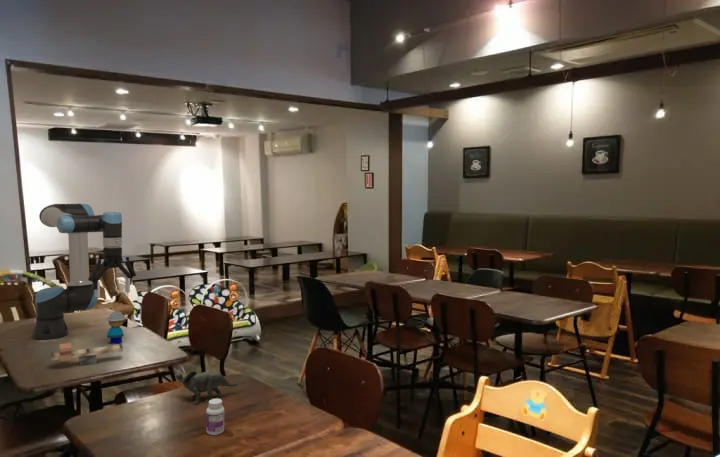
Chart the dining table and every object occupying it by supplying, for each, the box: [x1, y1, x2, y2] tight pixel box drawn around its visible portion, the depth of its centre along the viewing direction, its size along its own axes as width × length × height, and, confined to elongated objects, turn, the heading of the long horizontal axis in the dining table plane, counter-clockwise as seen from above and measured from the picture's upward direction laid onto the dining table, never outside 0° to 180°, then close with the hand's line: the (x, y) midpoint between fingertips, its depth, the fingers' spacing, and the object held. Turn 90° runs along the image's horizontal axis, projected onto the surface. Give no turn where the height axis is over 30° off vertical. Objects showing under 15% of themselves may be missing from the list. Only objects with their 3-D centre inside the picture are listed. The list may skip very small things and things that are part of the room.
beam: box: [50, 343, 124, 367], centre depth 213 cm, size 26×5×6 cm, turn 122°
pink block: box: [59, 342, 73, 362], centre depth 209 cm, size 4×7×5 cm, turn 31°
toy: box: [105, 310, 129, 345], centre depth 243 cm, size 8×9×15 cm
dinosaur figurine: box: [173, 365, 239, 405], centre depth 180 cm, size 22×8×11 cm, turn 100°
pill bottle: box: [205, 398, 225, 436], centre depth 157 cm, size 5×5×10 cm
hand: (113, 294), depth 227 cm, fingers open, 13 cm apart
